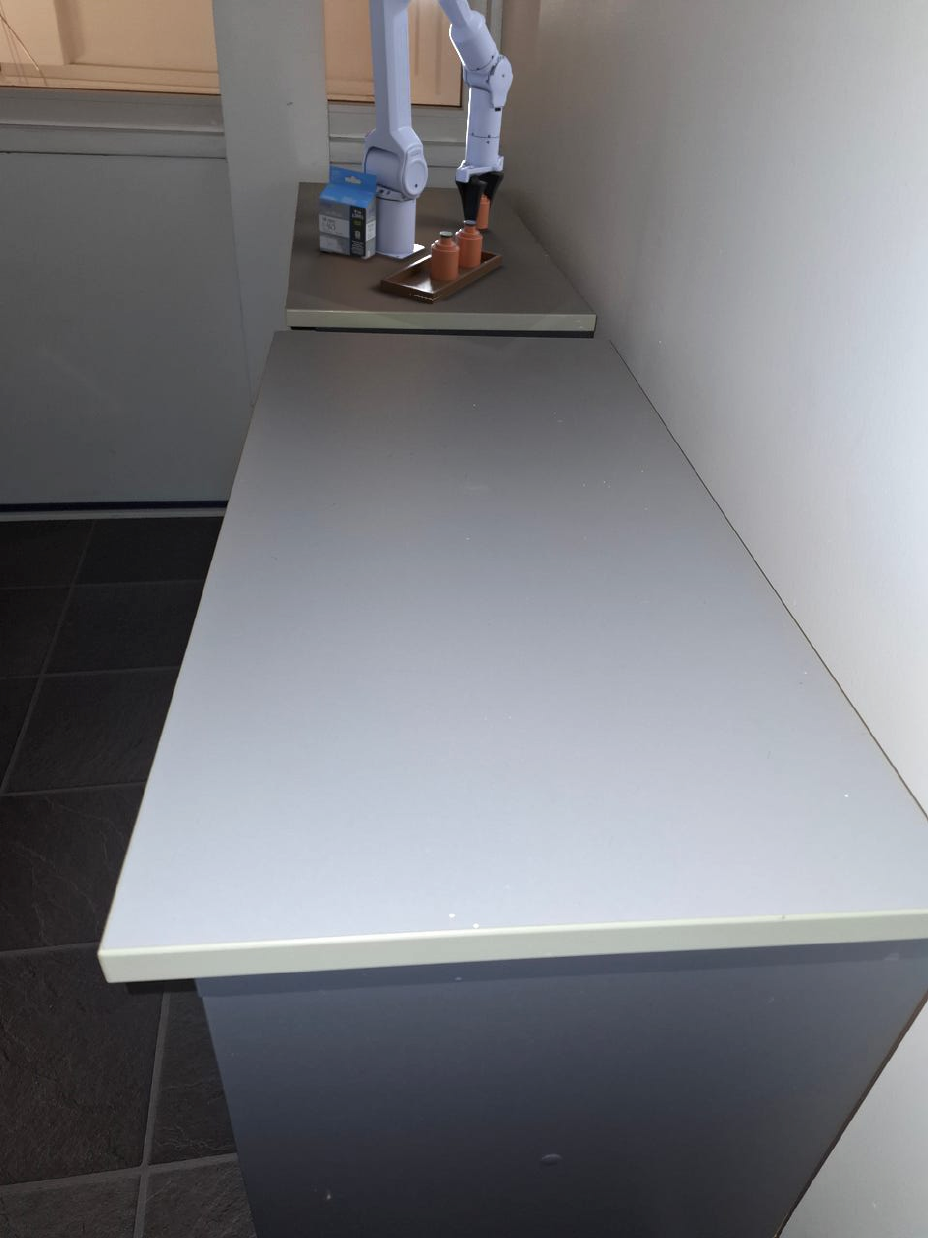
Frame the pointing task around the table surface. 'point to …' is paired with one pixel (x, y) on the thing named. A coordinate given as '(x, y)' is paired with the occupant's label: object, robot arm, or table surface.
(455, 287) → the tray
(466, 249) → the bottle back
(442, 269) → the bottle middle
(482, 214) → the loose bottle
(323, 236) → the ink cartridge box
